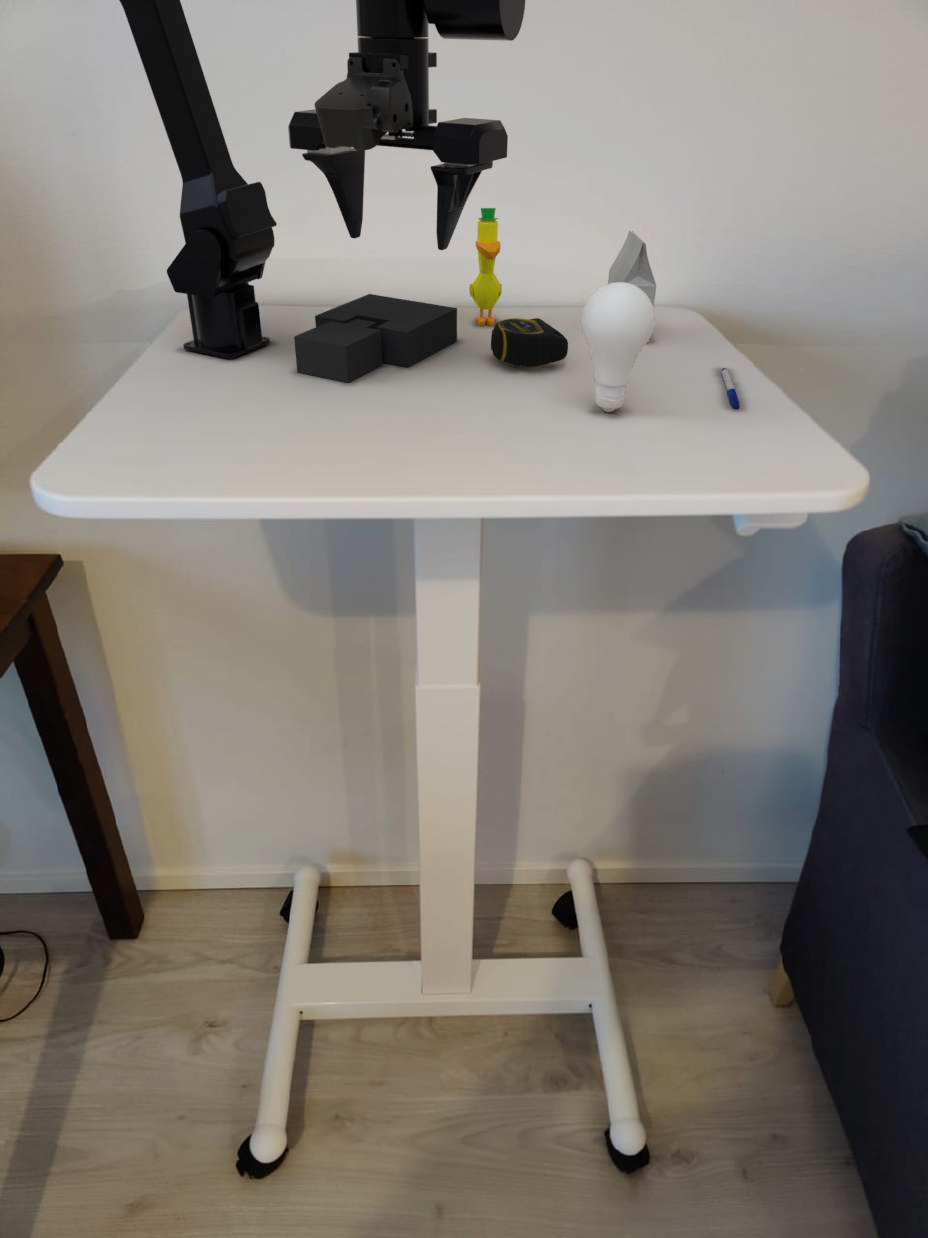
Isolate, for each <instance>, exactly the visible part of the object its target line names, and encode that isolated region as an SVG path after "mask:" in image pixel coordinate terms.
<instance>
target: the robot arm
mask: <svg viewBox="0 0 928 1238" xmlns="http://www.w3.org/2000/svg"><path fill="white" fill-rule="evenodd" d="M118 1H119V3H120V4H121V6H122V9H123V12H124V14H125V18H126V20H127V23H128V26H129V29H130V31H131V34H132V35H131V36H132V38H133V41H134V43H135V46H136V49H137V52H138V54H139V58H140V61H141V64H142V66H143V70H144V72H145V75H146V78H147V81H148V84H149V86H150V89H151V93H152V95H153V98H154V101H155V104H156V107H157V110H158V113H159V116H160V118H161V122H162V124H163V127H164V131H165V133H166V137H167V139H168V142H169V145H170V148H171V150H172V154H173V156H174V159H175V162H176V164H177V165H176V166H177V167H178V170H179V173H180V177H181V181H182V188H181V196H180V197H181V198H180V205H179V220H180V225H181V230H182V234H183V238H184V239H183V240H184V243H185V244H184V245H183V247H182V248H181V249H180V250H179V252H178V254H176V256H175V258H173V260H172V262H171V263H170V265H169V266H168V267H167V269H166V274H167V277H168V279H169V282H170V284H171V286H172V289H173V291H174V292H175V293H176V294H184V295H186V297H187V298H186V299H187V304H188V310H189V311H188V312H189V318H190V325H191V330H192V338H193V339H192V340H189V341H187V342H185V343H183V344H182V346H183V349H184V350H188V351H191V352H196V353H201V354H206V355H210V356H216V357H220V358H225V359H234V358H237V357H240V356H242V355H244V354H247V353H249V352H252V351H253V350H256V349H258V348H261V347H264V346H266V345H268V344H270V343H271V339H270V337H268V336H263V332H262V325H261V324H262V323H261V315H260V314H261V313H260V304H259V302H258V301H256V292H255V285H253V284H249V283H250V282H253V281H255V280H261V279H262V278H263V277H264V276H263V275H264V270H265V265H266V262H267V260H268V259H269V258H270V256H271V254H272V251H273V248H274V247H275V234H274V233H275V232H274V229H273V228H275V227H277V224H278V223H277V222H276V220H275V219H274V217H273V216H272V214H271V211H270V208H269V205H268V199H267V194H266V190H265V187H264V186H263V184H262V182H261V181H256V182H251V183H248V182H247V181H246V180H245V179H244V177H243V176H242V175H241V174H240V173H239V172H238V170H237V169H236V168H235V165H234V164H233V161H232V157H231V155H230V152H229V148H228V145H227V142H226V140H225V135H224V133H223V130H222V126H221V123H220V120H219V118H218V114H217V111H216V107H215V105H214V102H213V98H212V95H211V93H210V89H209V86H208V83H207V80H206V77H205V74H204V70H203V67H202V64H201V61H200V58H199V54H198V52H197V48H196V46H195V43H194V39H193V36H192V33H191V30H190V27H189V24H188V21H187V17H186V15H185V12H184V8H183V5H182V2H181V0H118ZM355 9H356V32H357V35H356V36H357V51H356V52H348V59H347V60H346V61H347V62H346V64H347V66H346V67H347V73H346V78H345V79H344V80H342V81H340V82H337V83H336V84H334V85H333V86H332V87H331V88H330V89H328V90H327V91H326V92H325V93H324V94H323V95H322V96H321V97H319V98H318V99H317V100H316V101H315V102H314V105H313V106H314V108H313V109H307V110H299V111H294V112H293V115H292V117H291V119H290V122H289V123H288V126H287V132H288V141H289V143H288V144H289V148H290V149H292V150H293V149H294V150H302V151H303V150H304V151H306V152H303V153H301V155H302V158H303V159H304V161H307V162H310V163H312V164H313V165H314V166H315V167H316V168H318V170H319V171H320V172H322V173H323V175H324V176H325V179H326V181H327V182H328V184H329V186H330V189H331V191H332V193H333V195H334V198H335V200H336V203H337V205H338V208H339V211H340V213H341V216H342V218H343V222H344V224H345V226H346V229H347V232H348V235H349V237H350V238H351V239H357V238H360V237H361V234H362V228H363V219H364V193H365V191H364V190H365V165H366V164H365V163H366V151H369V150H371V149H374V148H377V146H378V147H388V148H399V149H411V150H422V151H423V150H424V151H432V152H433V153H434V154H435V156H436V158H438V160H439V161H440V164H436V165H431V166H430V171H431V173H432V175H433V178H434V181H435V183H436V186H437V189H436V191H437V194H436V241H437V249H438V251H444V250H447V249H448V247H449V245H450V243H451V240H452V238H453V235H454V233H455V231H456V228H457V225H458V223H459V220H460V218H461V215H462V213H463V210H464V208H465V205H466V203H467V201H468V199H469V197H470V195H471V193H472V191H473V189H474V187H475V186H476V184H477V182H478V180H479V178H480V176H481V174H482V172H484V171H486V170H490V169H493V165H494V162H495V161H499V160H502V159H506V158H508V143H509V141H508V139H509V136H508V133H507V131H506V128H505V126H504V125H503V123H502V121H501V119H487V118H475V117H474V118H473V117H461V118H455V119H451V120H450V119H449V120H444V121H439V122H438V110H437V109H435V108H430V68H437V66H438V65H437V63H438V60H437V58H438V56H437V54H438V53H437V52H432V51H431V52H430V51H429V47H430V45H429V44H430V43H429V40H430V39H429V25H434V27H435V29H436V31H437V33H438V34H439V36H440V37H441V38H442V39H445V40H469V41H470V40H472V41H473V40H475V41H503V42H504V41H505V42H506V41H508V42H511V41H514V40H515V39H516V38H517V37H518V35H519V33H520V31H521V28H522V25H523V21H524V16H525V10H526V0H355ZM431 124H436V125H431Z"/></svg>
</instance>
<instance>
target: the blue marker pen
mask: <svg viewBox="0 0 928 1238" xmlns="http://www.w3.org/2000/svg"><path fill="white" fill-rule="evenodd" d="M721 375H722V378H723V382H724V385H725V388H726V391H727V393H726V394H727V396H728V400H729V403H730V405H731V407H732V409H733V410H739V409H740V406H741V405H740V400H739V397H738V394H737V390H736V388H734V384H733V382H732V378H731V375H730V372H729V370H728V369H727V368H726V367H723V368H722V369H721Z"/></svg>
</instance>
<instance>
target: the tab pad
mask: <svg viewBox="0 0 928 1238" xmlns="http://www.w3.org/2000/svg"><path fill="white" fill-rule="evenodd" d="M376 327H377V322H372V321H366V320H360V319H356V320H353V321H351V322H349V323H346V324H344V323H338V322H332V321H330V322H328V323H325V324H323V325H320V326H318V327H316V326H315V327H314V328H311V329H308V330H306V331H304V332H301V333H299V334H297V335H295V336H294V337H293V339H294V340H293V341H294V351H295V362H296V372H297V373H298V374H304V375H309V376H314V377H317V378H318V377H319V378H323V379H328V380H333V381H338V382H343V383H347V384H350V383H351V382H353V381H354V380H357V379H359V378H360V377H362V376H364V375H366V374H368V373H370V372H372V371H374V370H376V369H377V368H380V367H383V362H382V342H381V330H377V329H376Z"/></svg>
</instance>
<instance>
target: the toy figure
mask: <svg viewBox="0 0 928 1238" xmlns="http://www.w3.org/2000/svg"><path fill="white" fill-rule="evenodd" d="M496 209H497V208H496V207H481V208H480V213H481V217H478V221H477V238H476V239H477V240H476V241H475V248H476V250H477V258H478V259H477V260H478V267H479V273H478V275H477V276H476V278H475V279H474V281H473V282H472V283H469V289H468V290H469V296H470V298H471V297H472V300H473V301H474V303H475V305H476V306H477V308H478V309H479V317H477V325H478V326H480V327H483V326H486V325H488V326H490V327H494V326H495V325H496V318H495V317H493V309H494V307H495V305H496V304H497V302H499V299H500V297H501V296H502V292H503V291H502V290H503V288H502V287H503V284H502V283H501V282H500V281H499V279H498V278H497V276H496V274H495V273H494V272H495V264H496V257H498V255H499V254H500V252H501V246H502V245H501V242H500V241H499V240H498V235H499V234H498V233H499V232H498V231H499V222H498V221H497V220H499V218H498V217H495V215H496ZM484 311H487V317H485V316H484Z"/></svg>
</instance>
